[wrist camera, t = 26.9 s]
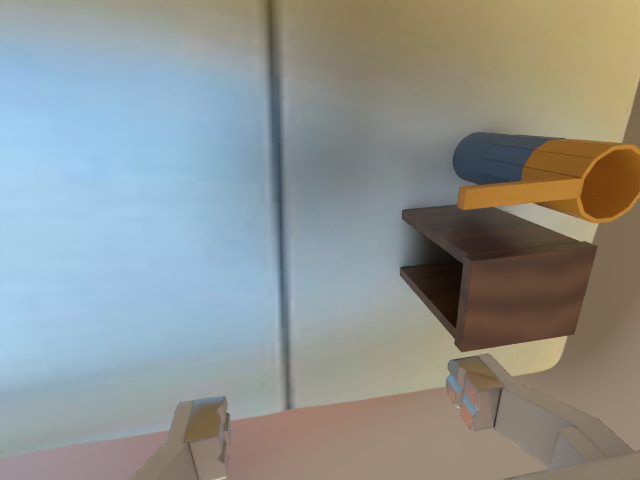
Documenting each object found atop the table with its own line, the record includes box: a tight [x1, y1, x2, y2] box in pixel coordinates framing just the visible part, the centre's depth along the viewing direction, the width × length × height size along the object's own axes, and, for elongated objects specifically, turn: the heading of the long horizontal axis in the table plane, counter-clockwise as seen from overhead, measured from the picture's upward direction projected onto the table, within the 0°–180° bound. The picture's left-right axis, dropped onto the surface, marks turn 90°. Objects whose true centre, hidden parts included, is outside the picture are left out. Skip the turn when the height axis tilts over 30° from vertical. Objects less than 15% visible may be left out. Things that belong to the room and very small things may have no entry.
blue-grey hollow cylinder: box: [453, 133, 565, 185], centre depth 43 cm, size 7×7×14 cm
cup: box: [458, 139, 640, 223], centre depth 32 cm, size 18×7×7 cm, turn 93°
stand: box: [400, 205, 597, 352], centre depth 44 cm, size 11×14×19 cm
